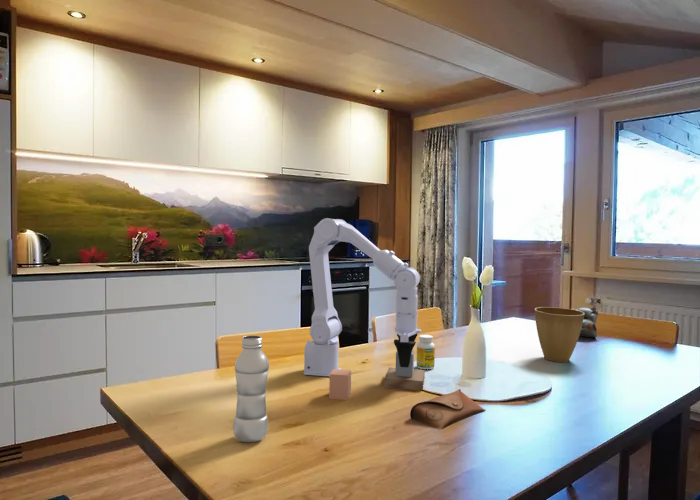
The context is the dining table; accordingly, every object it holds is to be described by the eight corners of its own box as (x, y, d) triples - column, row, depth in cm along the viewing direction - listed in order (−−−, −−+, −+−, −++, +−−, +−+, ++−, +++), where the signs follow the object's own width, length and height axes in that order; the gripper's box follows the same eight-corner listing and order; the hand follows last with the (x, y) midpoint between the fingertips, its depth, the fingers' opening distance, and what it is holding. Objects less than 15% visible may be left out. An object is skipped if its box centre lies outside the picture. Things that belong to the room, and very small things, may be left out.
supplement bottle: (425, 364, 149) (426, 333, 148) (438, 368, 144) (439, 336, 144) (412, 366, 146) (413, 335, 146) (424, 371, 141) (425, 338, 141)
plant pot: (532, 362, 153) (534, 312, 153) (533, 351, 167) (535, 305, 166) (584, 368, 148) (586, 316, 147) (581, 356, 161) (582, 309, 161)
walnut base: (384, 389, 126) (384, 378, 126) (388, 377, 136) (388, 367, 136) (422, 392, 125) (422, 381, 124) (424, 380, 134) (424, 370, 134)
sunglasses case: (441, 430, 99) (428, 398, 102) (417, 438, 104) (406, 407, 106) (488, 409, 112) (476, 381, 114) (465, 417, 116) (454, 390, 118)
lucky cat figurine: (552, 333, 197) (558, 302, 201) (576, 344, 199) (581, 313, 204) (579, 330, 183) (585, 296, 188) (604, 342, 185) (609, 308, 190)
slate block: (395, 375, 129) (395, 353, 128) (397, 370, 133) (397, 349, 133) (412, 377, 128) (413, 354, 127) (413, 372, 132) (414, 350, 132)
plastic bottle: (235, 432, 97) (236, 333, 96) (269, 432, 97) (270, 333, 97) (230, 447, 90) (231, 341, 90) (267, 446, 91) (268, 341, 90)
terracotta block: (329, 398, 118) (329, 374, 117) (333, 392, 122) (333, 368, 122) (347, 399, 117) (347, 375, 116) (350, 393, 121) (351, 370, 121)
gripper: (420, 318, 122) (419, 371, 122) (422, 309, 136) (421, 357, 137) (392, 317, 123) (391, 369, 124) (397, 308, 137) (396, 355, 138)
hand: (405, 363), depth 130 cm, fingers open, 7 cm apart
